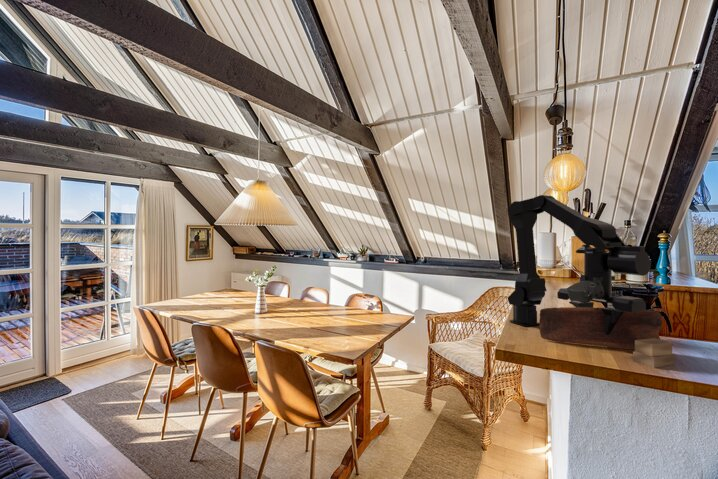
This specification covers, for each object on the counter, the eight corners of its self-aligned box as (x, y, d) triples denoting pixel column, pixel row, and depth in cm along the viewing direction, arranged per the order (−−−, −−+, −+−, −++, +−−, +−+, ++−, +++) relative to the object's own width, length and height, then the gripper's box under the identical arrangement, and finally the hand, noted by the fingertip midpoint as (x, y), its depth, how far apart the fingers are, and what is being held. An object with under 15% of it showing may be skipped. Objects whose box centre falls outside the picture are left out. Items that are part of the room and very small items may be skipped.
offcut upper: (634, 351, 74) (634, 340, 74) (654, 349, 76) (654, 338, 76) (652, 356, 71) (652, 345, 71) (672, 354, 72) (672, 342, 72)
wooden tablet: (540, 341, 88) (540, 304, 88) (538, 338, 90) (539, 302, 90) (664, 353, 79) (665, 312, 78) (659, 349, 81) (660, 310, 80)
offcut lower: (633, 362, 74) (633, 351, 74) (653, 359, 76) (653, 348, 76) (653, 369, 70) (653, 357, 70) (674, 365, 72) (674, 354, 72)
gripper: (542, 269, 90) (542, 325, 91) (615, 276, 73) (615, 346, 73) (571, 268, 94) (571, 322, 94) (647, 275, 77) (647, 341, 77)
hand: (597, 332), depth 85 cm, fingers closed on wooden tablet, 4 cm apart
